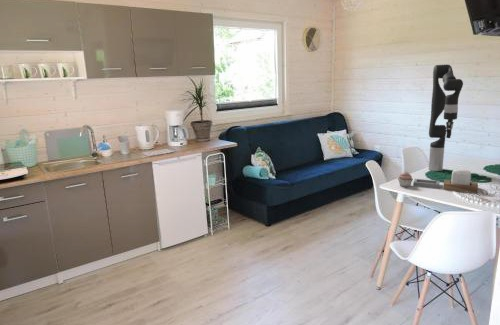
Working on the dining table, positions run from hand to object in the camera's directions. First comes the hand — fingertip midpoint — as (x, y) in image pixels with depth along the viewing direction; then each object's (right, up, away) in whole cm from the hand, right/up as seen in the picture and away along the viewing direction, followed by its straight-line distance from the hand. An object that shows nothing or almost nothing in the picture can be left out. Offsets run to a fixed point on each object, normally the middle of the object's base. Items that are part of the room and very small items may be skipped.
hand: (448, 136), depth 230 cm
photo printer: (+3, -33, -7) cm, 34 cm away
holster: (-13, -31, +2) cm, 34 cm away
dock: (+3, -33, -7) cm, 34 cm away
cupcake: (-27, -32, +4) cm, 42 cm away
